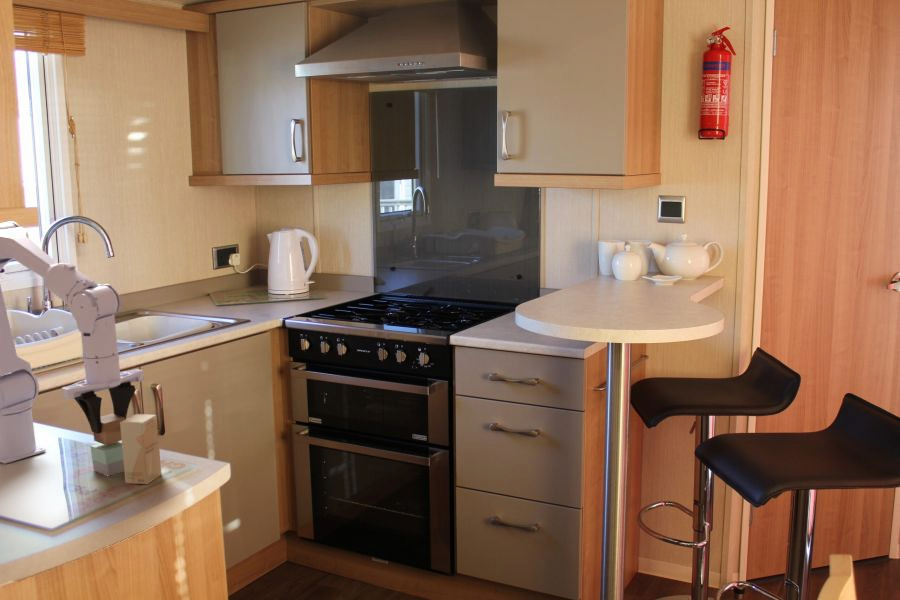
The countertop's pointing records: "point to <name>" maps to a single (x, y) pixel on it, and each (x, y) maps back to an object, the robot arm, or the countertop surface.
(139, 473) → the box
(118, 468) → the slab lower
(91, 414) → the robot arm
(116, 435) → the walnut cube
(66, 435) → the countertop surface
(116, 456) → the slab upper
